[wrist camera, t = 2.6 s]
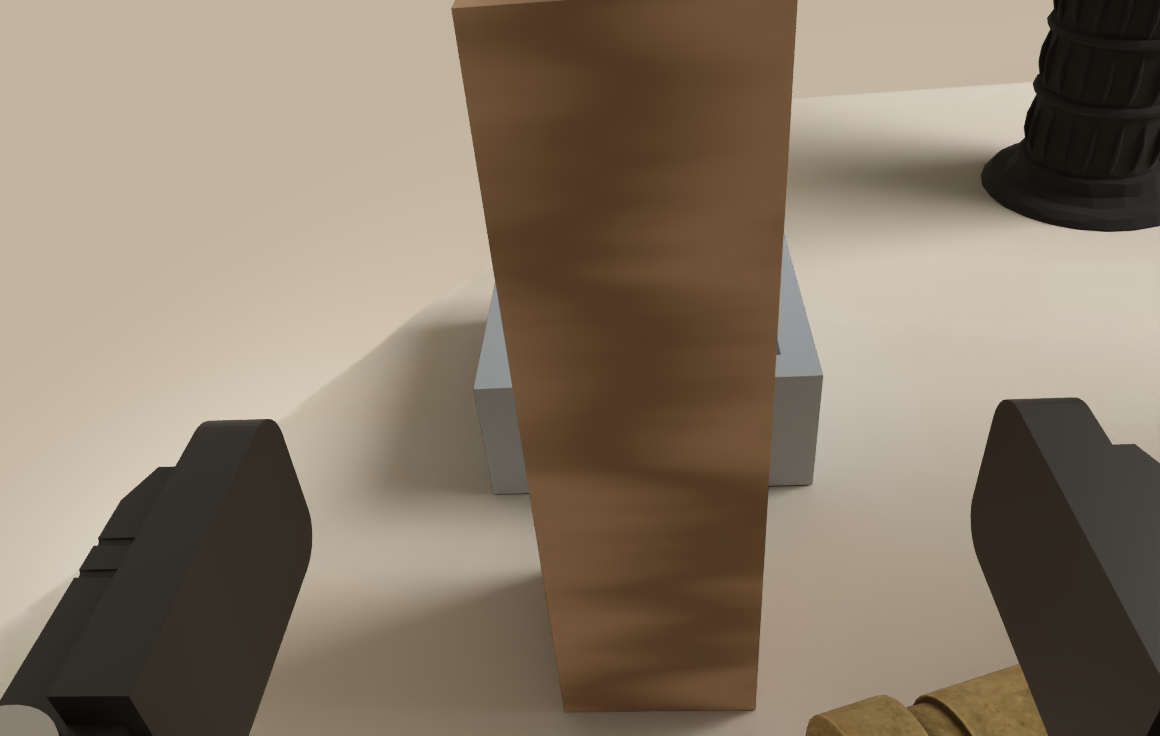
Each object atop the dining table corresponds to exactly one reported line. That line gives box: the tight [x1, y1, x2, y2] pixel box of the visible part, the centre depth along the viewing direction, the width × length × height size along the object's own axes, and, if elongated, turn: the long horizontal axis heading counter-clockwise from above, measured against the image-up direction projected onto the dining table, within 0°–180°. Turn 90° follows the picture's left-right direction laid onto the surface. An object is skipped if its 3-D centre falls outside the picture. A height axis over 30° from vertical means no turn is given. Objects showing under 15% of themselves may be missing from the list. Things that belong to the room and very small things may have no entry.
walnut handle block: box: [451, 0, 797, 712], centre depth 23 cm, size 6×6×20 cm
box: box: [473, 235, 823, 494], centre depth 37 cm, size 12×12×5 cm
